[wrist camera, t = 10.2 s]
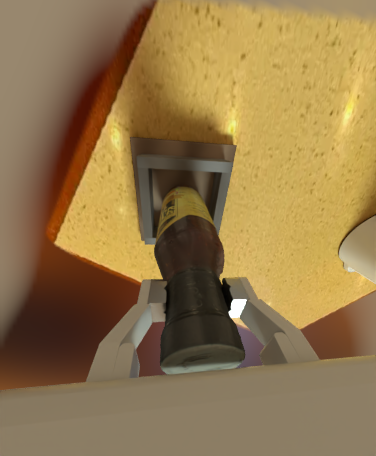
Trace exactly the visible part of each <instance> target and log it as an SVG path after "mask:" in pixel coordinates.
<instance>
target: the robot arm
mask: <svg viewBox="0 0 376 456" xmlns="http://www.w3.org/2000/svg"><path fill="white" fill-rule="evenodd" d="M339 257H340V259H341V260H342V261H343V262H344V269H345V270H347V271H348V272H355V271H356V272H357V273H359V274H361V275H362V276H364V277H365V278H367V279H368V280H370V281H372V282H373V283H375V284H376V216H374V217H372V218H370V219H368V220H366V221H365V222H363V223H362V224H361V225H359V226H358V227H357V228H355V229H354V230H353V231H352V232H351V233H350V234H349V235H348V236H347V238H346V239H345V240H344V242H343V243H342V245H341V247H340V250H339ZM222 283H223V285H222V293H223V296H224V299H225V303H226V305H227V308H228V312H229V315H230V317H231V318H235V317H240V319H241V320H242V321H243V322H244V323H245V325H246V326H247V327H248V328H249V329H250V330H251V331H252V332H253V334H254V335H255V336H256V337H257V338H258V339H259V341H260V342H261V343H262V344H263V345H264V346H265V347H264V349H263V350H262V351H261V353H260V355H259V356H260V358H261V361H262V363H263V366H254V367H244V368H232V369H222V370H211V371H201V372H190V373H179V374H169V375H159V376H148V377H138V374H139V366H140V365H139V361H138V357H137V354H136V348H137V346H138V345H139V343H140V342H141V340H142V338H143V337H144V335H145V333H146V332H147V330H148V328H149V327H150V326H151V324H152V322H160V321H165V318H166V308H167V303H166V302H167V279H151V280H143V281H142V285H141V289H140V294H139V298H138V303H137V304H136V305H134V306H133V307H132V308H131V309H130V310H129V311H128V313H127V314H126V315H125V316H124V317H123V318H122V319H121V320H120V322H119V323H118V324H117V325H116V326H115V327H114V328H113V329H112V331H111V332H110V333H109V334H108V335H107V336H106V337H105V338H104V340H103V341H102V342H101V343H100V344H99V347H98V350H97V353H96V355H95V358H94V361H93V364H92V366H91V369H90V372H89V375H88V378H87V380H86V382H84V383H73V384H63V385H53V386H42V387H32V388H21V389H10V390H0V456H376V355H371V356H360V357H349V358H340V359H339V358H338V359H328V360H319V358H318V357H317V355H316V353H315V352H314V350H313V349H312V347H311V346H310V344H309V343H308V342H307V340H306V339H305V337H304V336H303V334H302V332H301V331H300V330H299V329H298V328H296V327H295V326H294V325H293V324H291V323H290V322H289V321H288V320H286V319H285V318H284V317H283V316H281V315H280V314H279V313H277V312H276V311H275V310H274V309H272V308H271V307H270V306H269V305H267V304H266V303H265V302H263V301H262V300H261V299H258V297H257V296H256V294H255V292H254V290H253V288H252V286H251V285H250V283H249V281H248V279H247V278H246V277H233V278H223V280H222Z"/></svg>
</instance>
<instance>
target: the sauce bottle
mask: <svg viewBox="0 0 376 456" xmlns="http://www.w3.org/2000/svg"><path fill="white" fill-rule="evenodd" d="M154 255H155V258H156V261H157V264H158V266H159V269H160V272H161V275H162V277H163V279H167V302H166V303H167V308H166V318H165V327H164V329H163V332H162V335H161V344H160V346H161V355H160V366H161V369H162V370H163V371H164V372H165V373H167V374H168V375H169V374H179V373H190V372H201V371H211V370H222V369H232V368H236V367H237V366H239V365H240V364H241V363H242V361H243V360H244V358H245V350H244V347H243V344H242V342H241V337H240V335H239V333H238V329H237V326H236V324H235V323H234V321H233V320H232V319H231V317H230V315H229V312H228V308H227V305H226V303H225V299H224V296H223V293H222V285H221V282H220V280H219V277H220V274H221V273H222V272H223V268H224V267H223V266H224V250H223V246H222V243H221V241H220V239H219V237H218V232H217V230H216V227H215V225H214V223H213V221H212V218H211V216H210V214H209V212H208V210H207V207H206V205H205V203H204V201H203V198H202V196H201V195H200V194H199V192H198V191H197V190H195V189H194V188H192V187H190V186H187V185H178V186H176V187H174V188H172V189H170V191H169V192H168V193H167V195H166V196H165V198H164V200H163V203H162V209H161V214H160V220H159V225H158V232H157V237H156V242H155V248H154Z"/></svg>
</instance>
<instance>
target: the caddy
mask: <svg viewBox="0 0 376 456" xmlns="http://www.w3.org/2000/svg"><path fill="white" fill-rule="evenodd" d="M130 141H131V150H132V159H133V168H134V177H135V186H136V195H137V204H138V213H139V222H140V231H141V240H142V241H145V244H155V242H156V237H157V232H158V225H159V220H160V214H161V209H162V203H163V200H164V198H165V196H166V195H167V193H168V192H169V191H170V189H172V188H174V187H176V186H178V185H187V186H190V187H192V188H194V189H195V190H197V191H198V192H199V194H200V195H201V196H202V198H203V201H204V203H205V205H206V207H207V210H208V212H209V214H210V216H211V218H212V221H213V223H214V225H215V227H216V230H217V232H218V235H219V230H220V225H221V220H222V215H223V211H224V206H225V201H226V196H227V191H228V187H229V182H230V177H231V172H232V167H233V161H234V156H235V151H236V146H237V145H225V144H213V143H200V142H188V141H175V140H162V139H150V138H137V137H130Z"/></svg>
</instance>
